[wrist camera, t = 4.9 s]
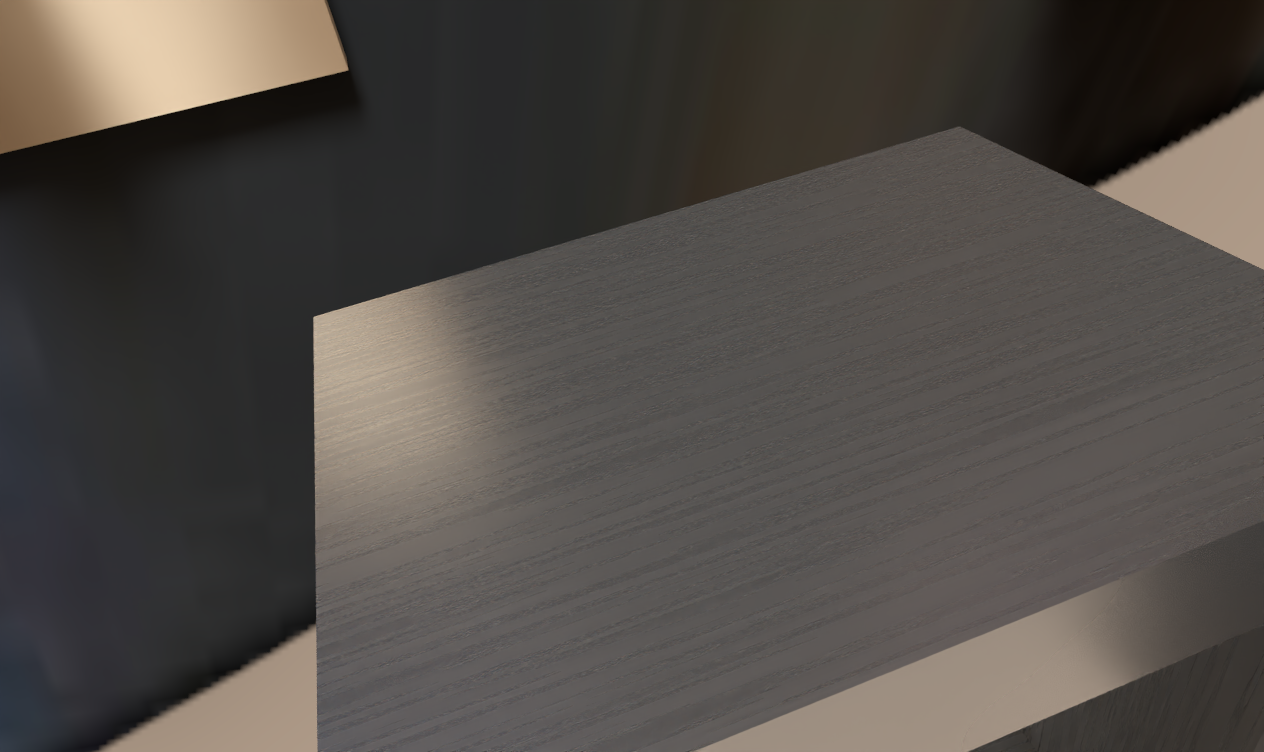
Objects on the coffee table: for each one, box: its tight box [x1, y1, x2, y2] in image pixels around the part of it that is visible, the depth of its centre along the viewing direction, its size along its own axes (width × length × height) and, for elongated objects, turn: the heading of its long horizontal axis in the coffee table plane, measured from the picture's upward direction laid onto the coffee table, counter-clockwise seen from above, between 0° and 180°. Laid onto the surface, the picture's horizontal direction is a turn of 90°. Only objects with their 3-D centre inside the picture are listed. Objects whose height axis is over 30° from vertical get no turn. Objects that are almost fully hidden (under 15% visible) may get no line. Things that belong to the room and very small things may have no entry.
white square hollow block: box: [314, 126, 1264, 752], centre depth 8 cm, size 6×6×5 cm
